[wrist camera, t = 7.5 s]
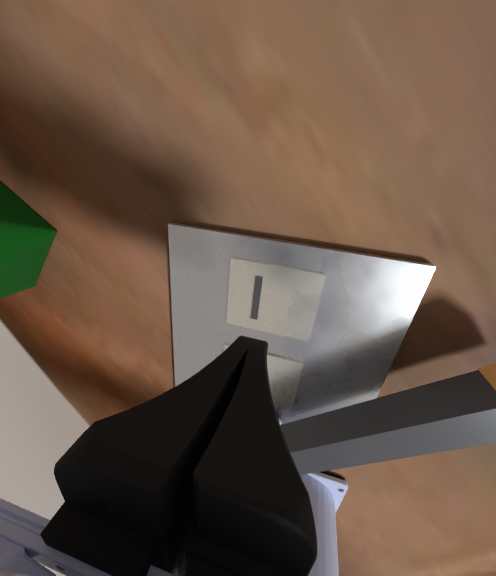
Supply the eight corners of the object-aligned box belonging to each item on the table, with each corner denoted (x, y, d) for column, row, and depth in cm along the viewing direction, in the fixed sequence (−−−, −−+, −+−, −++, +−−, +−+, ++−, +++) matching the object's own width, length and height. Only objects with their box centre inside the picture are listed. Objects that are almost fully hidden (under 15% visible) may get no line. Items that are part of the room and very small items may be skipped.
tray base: (346, 456, 22) (353, 527, 18) (179, 405, 25) (149, 455, 20) (431, 263, 14) (483, 304, 10) (172, 222, 17) (121, 239, 13)
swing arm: (289, 445, 20) (286, 478, 18) (273, 425, 20) (268, 457, 17) (538, 387, 13) (582, 430, 11) (523, 355, 13) (565, 393, 11)
